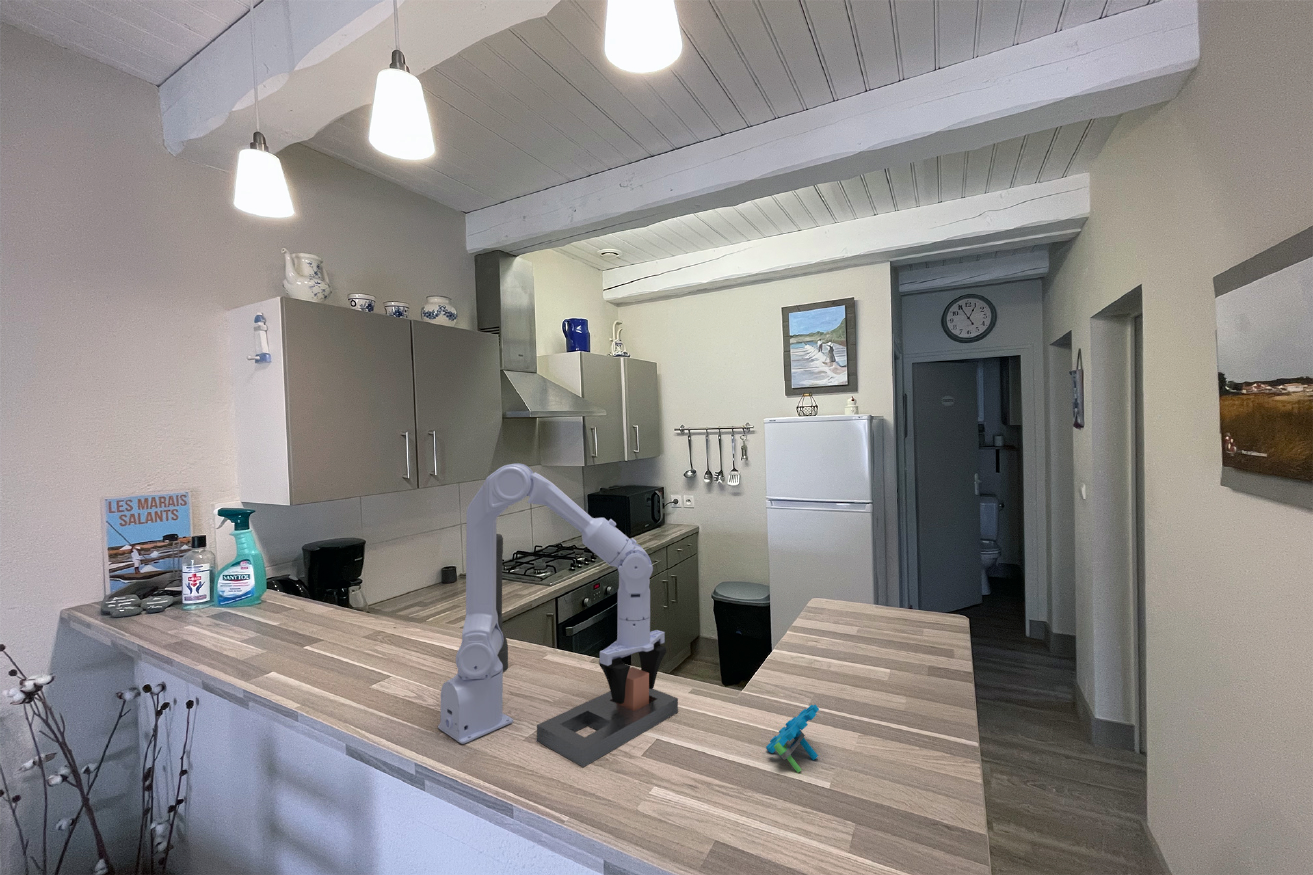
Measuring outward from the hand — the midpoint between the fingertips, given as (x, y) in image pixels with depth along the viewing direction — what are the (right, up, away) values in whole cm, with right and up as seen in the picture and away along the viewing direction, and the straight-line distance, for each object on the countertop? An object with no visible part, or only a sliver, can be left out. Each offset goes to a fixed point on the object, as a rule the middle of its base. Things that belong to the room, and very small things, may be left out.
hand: (633, 694), depth 96 cm
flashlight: (-31, -4, +19) cm, 37 cm away
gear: (+25, -4, -13) cm, 28 cm away
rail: (-4, -3, -4) cm, 6 cm away
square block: (0, -4, 0) cm, 4 cm away
